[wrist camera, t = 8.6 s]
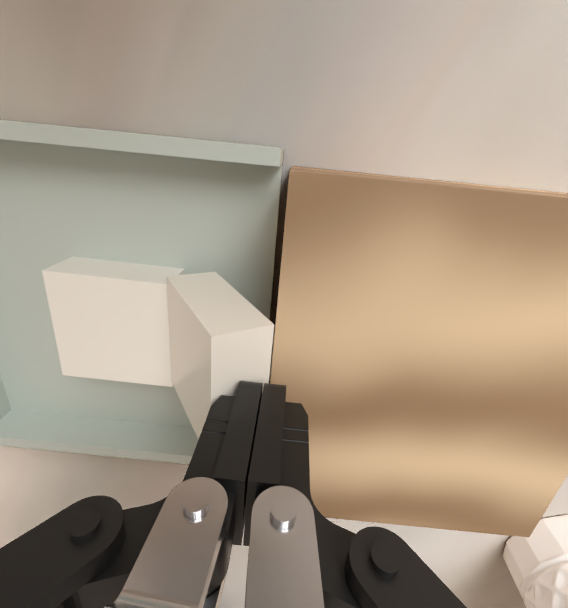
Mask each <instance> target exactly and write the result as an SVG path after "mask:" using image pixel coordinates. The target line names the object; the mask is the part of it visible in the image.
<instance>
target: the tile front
mask: <svg viewBox="0 0 568 608" xmlns="http://www.w3.org/2000/svg"><path fill="white" fill-rule="evenodd" d="M166 280H167V300H168V321H169V341H170V362H171V381H172V383H173V385H174V388H175V390H176V392H177V394H178V396H179V399H180V401H181V403H182V405H183V407H184V410H185V412H186V414H187V416H188V418H189V420H190V423H191V425H192V427H193V429H194V431H195V434H196V436H197V438H198V440H199V437H200V434H201V433H202V429H203V426H204V423H205V422H206V418H207V415H208V412H209V410H210V407H211V405H212V404H213V403H214V402H215V401H216V400H217V399H218V398H219V397H220V396H221V395H225V396H235V397H236V394H237V390H238V387H239V383H240V381H249V382H259V383H263V387H264V383H269V375H270V364H271V354H272V343H273V333H274V324H273V323H272V322H271V321H270V320H269V319H268V318H266V317H265V316H264V315H263V314H262V313H261V312H260V311H259V310H258V309H256V308H255V307H254V306H253V305H252V304H251V303H250V302H249V301H248V300H246V299H245V298H244V297H243V296H242V295H241V294H240V293H239V292H238V291H236V290H235V289H234V288H233V287H232V286H231V285H230V284H229V283H227V282H226V281H225V280H224V279H223V278H222V277H221V276H220V275H219V274H217V273H216V272H206V273H196V274H185V275H174V276H166ZM262 393H263V390H262Z"/></svg>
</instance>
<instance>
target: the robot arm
mask: <svg viewBox="0 0 568 608" xmlns="http://www.w3.org/2000/svg"><path fill="white" fill-rule="evenodd" d="M262 390H263V393H262ZM285 399H286V385H279V384H269V383H264V387H263V383H259V382H249V381H240V383H239V387H238V390H237V394H236V397H235V396H225V395H221V396H220V397H219V398H218V399H217V400H216V401H215V402H214V403H213V404H212V405H211V407H210V410H209V412H208V415H207V418H206V422H205V423H204V426H203V429H202V433H201V434H200V437H199V440H198V442H197V445H196V448H195V450H194V453H193V456H192V459H191V461H190V464H189V467H188V469H187V472H186V475H185V477H184V479H183V481H182V483H180V484H179V485H177V486H176V487H175V488H174V489H173V490H172V491H171V492H170V493H169V495H168V497H166V498H164V499H163V500H161V501H158V502H156V503H153V504H149V505H145V506H140V507H135V508H130V509H125V510H122V507H121V505H120V504H119V503H118V502H117V501H116V500H115V499H113V498H111V497H108V496H92V497H88V498H85V499H82V500H80V501H78V502H76V503H74V504H72V505H70V506H69V507H67V508H66V509H64V510H62V511H61V512H59V513H57V514H56V515H54V516H53V517H51V518H49V519H48V520H46V521H44V522H43V523H41V524H40V525H38V526H36V527H35V528H33V529H31V530H30V531H28V532H27V533H25V534H23V535H22V536H20V537H18V538H17V539H15V540H14V541H12V542H10V543H9V544H7V545H5V546H4V547H2V548H1V549H0V608H218V606H219V602H220V598H221V594H222V590H223V586H224V582H225V576H226V573H227V570H228V565H229V559H230V554H231V548H232V544H233V545H241V543H242V537H243V530H244V544H243V545H245V546H249V554H248V567H247V579H246V593H245V608H466V606H465V605H464V604H463V603H462V602H461V601H460V600H459V599H458V598H457V597H456V596H455V595H454V594H453V593H452V592H451V590H450V589H449V588H448V587H447V586H446V585H445V584H444V583H443V582H442V581H441V580H440V579H439V578H438V577H437V576H436V574H435V573H434V572H433V571H432V570H431V569H430V568H429V567H428V566H427V565H426V564H425V563H424V562H423V561H422V560H421V558H420V557H419V556H418V555H417V554H416V553H415V552H414V551H413V550H412V549H411V548H410V547H409V546H408V545H407V544H406V542H405V541H403V540H402V539H401V538H400V537H399V536H398V535H396V534H395V533H393V532H391V531H390V530H387V529H385V528H381V527H367V528H364V529H362V530H360V531H359V532H358V533H357V534H355V533H353V532H350V531H348V530H346V529H344V528H342V527H340V526H337V525H335V524H334V523H332V522H330V521H329V520H327V519H326V518H325V517H324V516H323V515H322V514H321V513H320V512H319V511H318V510H317V508H316V506H315V505H314V503H313V500H312V497H311V493H310V467H309V432H308V430H309V425H308V414H307V413H306V411H305V409H304V407H303V405H302V404H301V403H293V402H285ZM244 524H245V529H244Z"/></svg>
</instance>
